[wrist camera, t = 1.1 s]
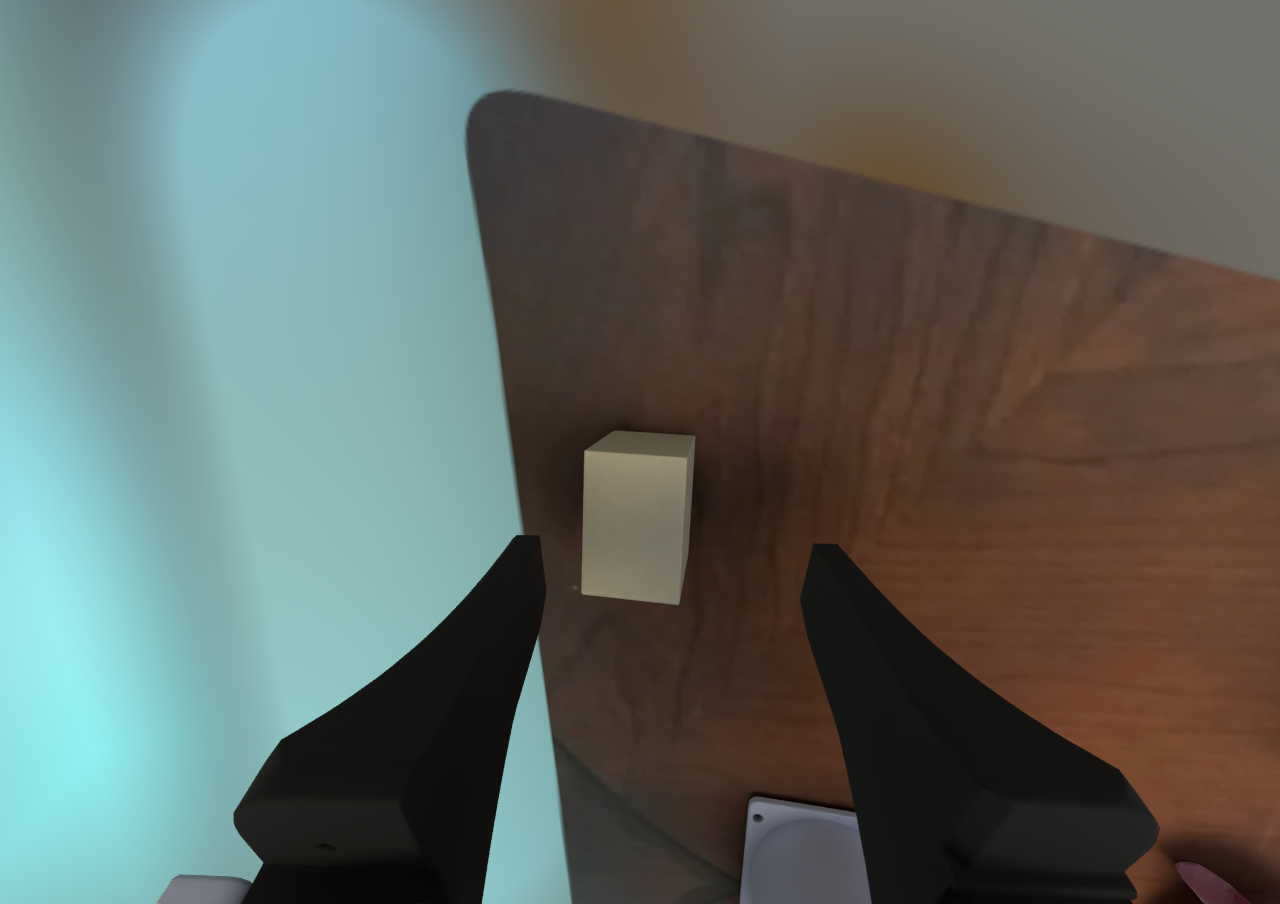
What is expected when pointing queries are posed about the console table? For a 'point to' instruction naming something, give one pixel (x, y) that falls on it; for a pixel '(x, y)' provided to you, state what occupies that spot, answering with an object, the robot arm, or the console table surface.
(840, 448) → the console table surface
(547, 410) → the console table surface
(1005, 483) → the console table surface
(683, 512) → the ivory block
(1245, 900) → the flower
